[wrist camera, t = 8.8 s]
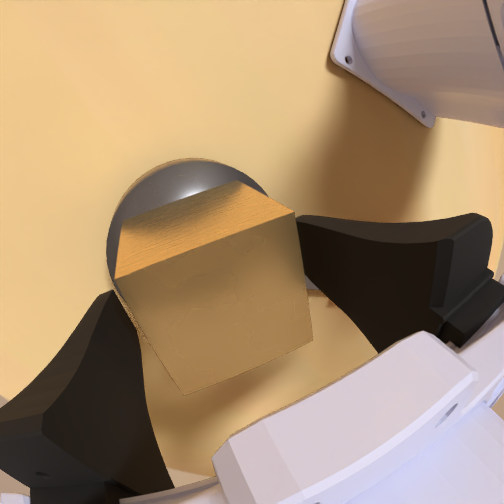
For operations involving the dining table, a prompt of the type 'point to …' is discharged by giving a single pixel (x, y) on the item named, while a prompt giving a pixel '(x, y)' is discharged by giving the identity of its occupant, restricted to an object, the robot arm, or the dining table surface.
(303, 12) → the dining table surface
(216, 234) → the wooden cube
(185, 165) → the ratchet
